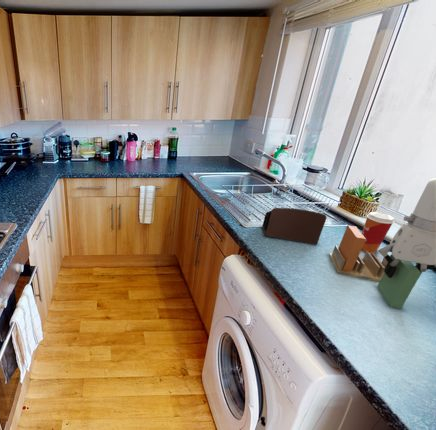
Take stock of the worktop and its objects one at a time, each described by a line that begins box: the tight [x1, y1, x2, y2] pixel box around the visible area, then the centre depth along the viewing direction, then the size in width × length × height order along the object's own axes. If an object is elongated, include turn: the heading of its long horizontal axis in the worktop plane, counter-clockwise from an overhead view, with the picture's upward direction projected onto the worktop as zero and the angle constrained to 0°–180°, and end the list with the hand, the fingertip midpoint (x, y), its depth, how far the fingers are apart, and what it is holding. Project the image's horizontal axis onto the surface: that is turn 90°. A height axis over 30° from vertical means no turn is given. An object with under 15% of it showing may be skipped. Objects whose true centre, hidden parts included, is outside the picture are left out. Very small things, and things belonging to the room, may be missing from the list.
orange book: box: [338, 224, 366, 271], centre depth 101 cm, size 3×10×13 cm, turn 157°
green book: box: [376, 260, 422, 310], centre depth 86 cm, size 3×10×13 cm, turn 157°
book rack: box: [328, 245, 388, 283], centre depth 101 cm, size 17×13×5 cm
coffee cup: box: [361, 211, 395, 254], centre depth 112 cm, size 8×8×15 cm
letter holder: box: [261, 207, 327, 246], centre depth 122 cm, size 10×20×14 cm, turn 71°
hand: (399, 277), depth 86 cm, fingers open, 4 cm apart
